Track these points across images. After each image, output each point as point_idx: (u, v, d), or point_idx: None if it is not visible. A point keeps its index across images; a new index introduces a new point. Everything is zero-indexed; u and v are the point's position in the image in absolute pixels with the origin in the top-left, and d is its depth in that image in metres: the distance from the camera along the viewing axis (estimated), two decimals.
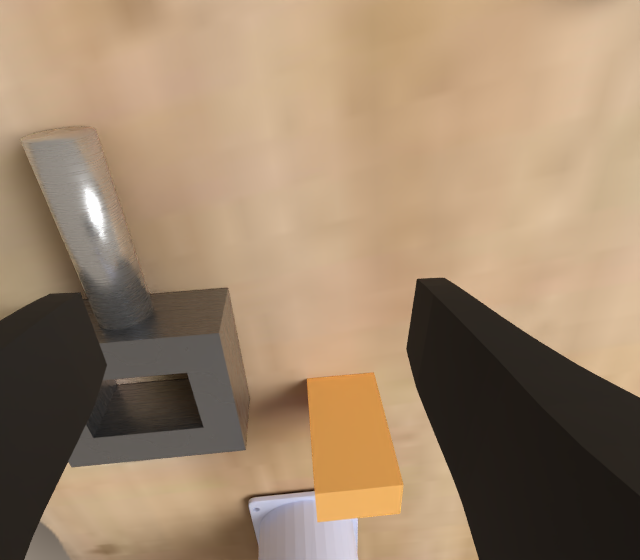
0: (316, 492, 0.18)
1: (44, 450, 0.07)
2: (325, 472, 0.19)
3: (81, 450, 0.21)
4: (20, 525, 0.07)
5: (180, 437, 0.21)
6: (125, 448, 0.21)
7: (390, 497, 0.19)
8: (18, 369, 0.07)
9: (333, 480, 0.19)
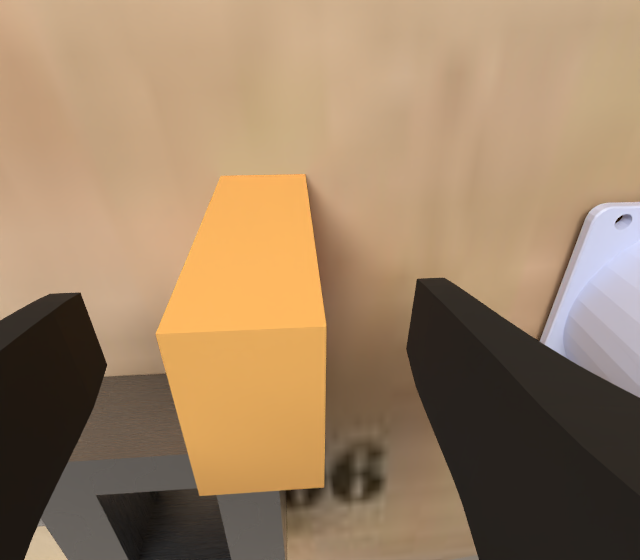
0: (199, 490, 0.08)
1: (44, 450, 0.07)
2: None
3: None
4: (20, 525, 0.07)
5: (236, 507, 0.14)
6: (255, 547, 0.16)
7: (225, 360, 0.06)
8: (18, 369, 0.07)
9: None
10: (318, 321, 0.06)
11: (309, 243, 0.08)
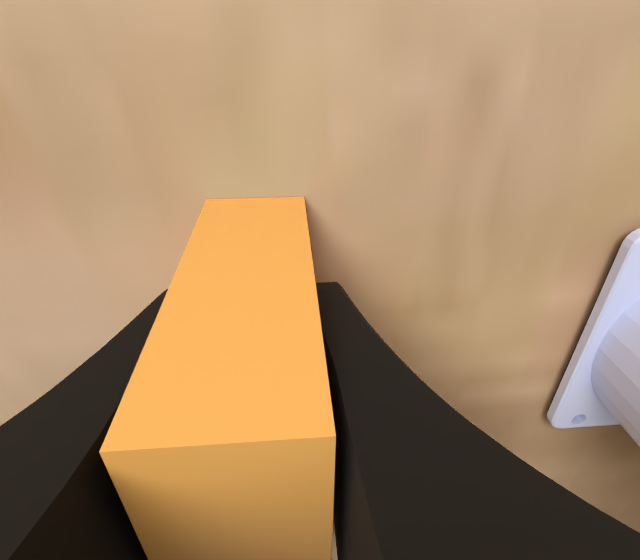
0: None
1: None
2: None
3: None
4: None
5: None
6: None
7: (199, 477, 0.04)
8: None
9: None
10: (324, 427, 0.04)
11: (311, 295, 0.07)
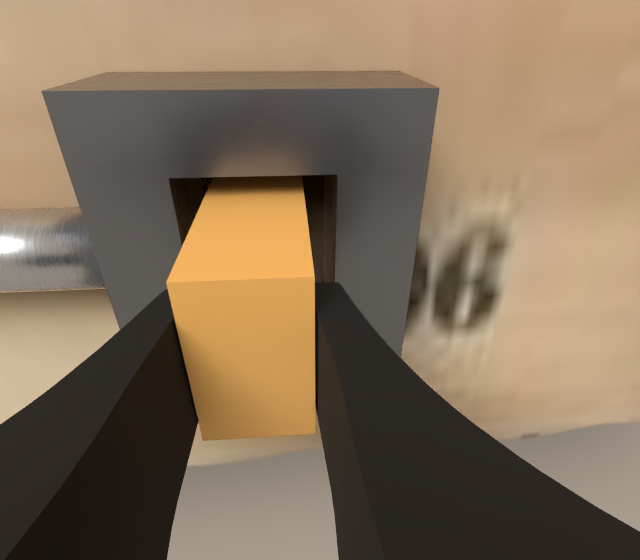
0: (202, 436, 0.09)
1: (177, 441, 0.07)
2: None
3: None
4: (166, 513, 0.07)
5: (359, 224, 0.10)
6: (368, 316, 0.12)
7: (227, 307, 0.07)
8: (165, 361, 0.07)
9: None
10: (307, 273, 0.07)
11: (301, 213, 0.09)
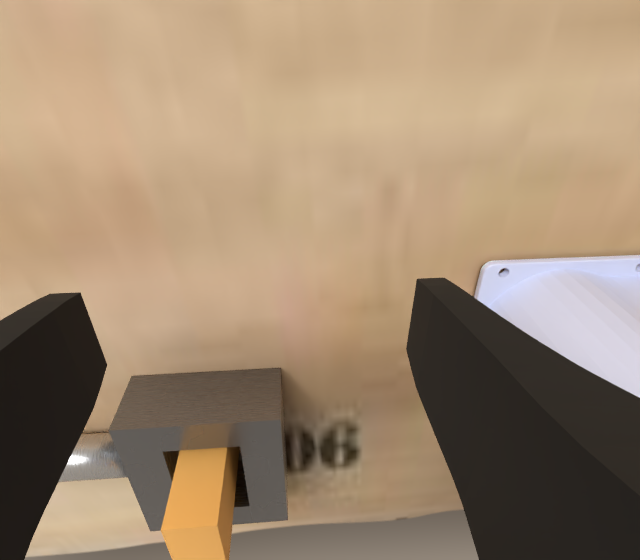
0: None
1: (44, 450, 0.07)
2: None
3: (265, 513, 0.24)
4: (20, 525, 0.07)
5: (253, 461, 0.21)
6: (265, 492, 0.23)
7: (184, 535, 0.18)
8: (18, 369, 0.07)
9: None
10: (215, 522, 0.18)
11: (222, 469, 0.20)
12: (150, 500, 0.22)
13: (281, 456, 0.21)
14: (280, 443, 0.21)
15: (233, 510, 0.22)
